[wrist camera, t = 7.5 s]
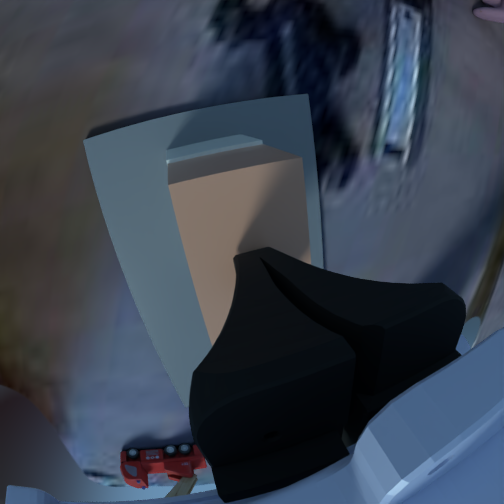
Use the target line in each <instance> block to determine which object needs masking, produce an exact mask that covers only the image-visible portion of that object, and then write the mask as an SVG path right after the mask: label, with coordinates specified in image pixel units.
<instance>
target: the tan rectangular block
mask: <svg viewBox="0 0 504 504" xmlns="http://www.w3.org/2000/svg"><path fill="white" fill-rule="evenodd" d="M167 165H168V187H169V191H170V195H171V200H172V204H173V208H174V212H175V216H176V220H177V224H178V228H179V232H180V236H181V240H182V244H183V247H184V251H185V255H186V259H187V262H188V266H189V270H190V273H191V277H192V280H193V284H194V288H195V291H196V295H197V298H198V301H199V305H200V308H201V312H202V315H203V318H204V322H205V325H206V328H207V331H208V335H209V338H210V341H211V344H212V346H213V344H214V343H215V341H216V339H217V338H218V336H219V334H220V332H221V330H222V328H223V326H224V324H225V321H226V319H227V316H228V314H229V310H230V307H231V304H232V300H233V295H234V290H235V283H236V271H235V267H234V262H233V258H234V256H235V255H238V254H241V253H245V252H249V251H253V250H257V249H261V248H265V247H271V248H274V249H276V250H278V251H280V252H283V253H285V254H287V255H289V256H291V257H294V258H296V259H298V260H301V261H303V262H305V263H308V264H311V254H310V239H309V226H308V213H307V201H306V190H305V180H304V170H303V160H302V157H300V156H297V155H294V154H291V153H288V152H285V151H282V150H279V149H277V148H274V147H270V146H267V145H264V144H261V145H255V146H250V147H244V148H239V149H233V150H228V151H223V152H218V153H214V154H209V155H204V156H200V157H195V158H191V159H186V160H182V161H178V162H174V163H169V164H167Z"/></svg>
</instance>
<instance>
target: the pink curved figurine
mask: <svg viewBox="0 0 504 504" xmlns="http://www.w3.org/2000/svg"><path fill="white" fill-rule="evenodd" d="M482 1H483V2H484V4H486V5H487V6H489V7H480V8H476V9H474V10H473V14H474V15H475V16H477V17H478V18H481V19H484V20H488V21H493V22H499V23H504V0H482Z"/></svg>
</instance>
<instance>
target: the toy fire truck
mask: <svg viewBox="0 0 504 504" xmlns="http://www.w3.org/2000/svg"><path fill="white" fill-rule="evenodd" d="M120 461H121V466H120V470H121V474H122V477H123V479H124V481H125V482H126V483H127V484H129V485H130V486H133V487H136V488H142V489H145V488H148V474H152V473H166V472H167V474H168V478H169V479H171V480H175V481H178V483H177V484H176V485H175V486H174V487H173V489H172V490H171V491H170V492H169V493H168V494H167V495H166V497H164V498H167V497H174V496H181V495H188V494H190V493H191V491H192V489H193V487H194V485H195V484H196V482H197V480H198V479H197V478H196V477H197V475H195V474H194V469H200V468H206V467H207V465H206V461H205V457H204V456H203V455H202V453H201V452H200V450H199V449H198V447H197V446H196V445H193V447H192V448H191V447H190V445H188V444H186V443H183V444H181V445H180V446H179V449H176V447H175V446H173V445H168V446H166V447H165V449H164V450H163V449H150V450H149V449H148V450H140V452H139V451H138V450H137V449H135V448H130V449H129V450H128V451H127V452H126V451H122V452H121V456H120Z"/></svg>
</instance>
